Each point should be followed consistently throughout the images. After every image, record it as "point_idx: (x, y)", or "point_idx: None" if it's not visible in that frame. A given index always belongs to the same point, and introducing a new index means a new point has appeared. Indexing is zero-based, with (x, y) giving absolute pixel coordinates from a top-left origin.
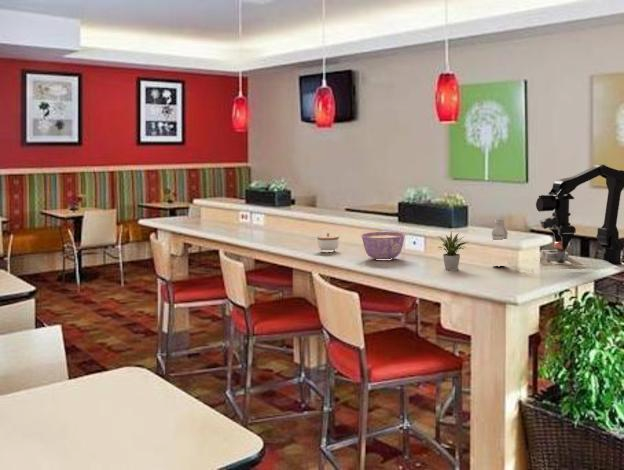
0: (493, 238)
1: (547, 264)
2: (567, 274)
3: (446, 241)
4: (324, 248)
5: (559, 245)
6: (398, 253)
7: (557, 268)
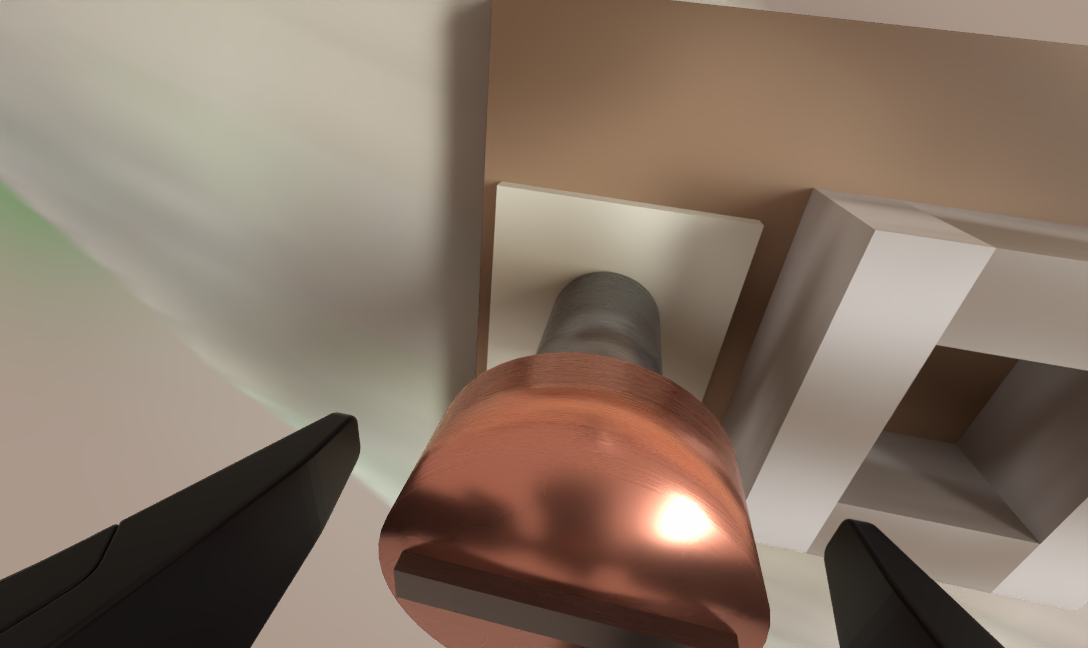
0: None
1: (557, 85)
2: (157, 162)
3: None
4: None
5: (430, 447)
6: None
7: None
